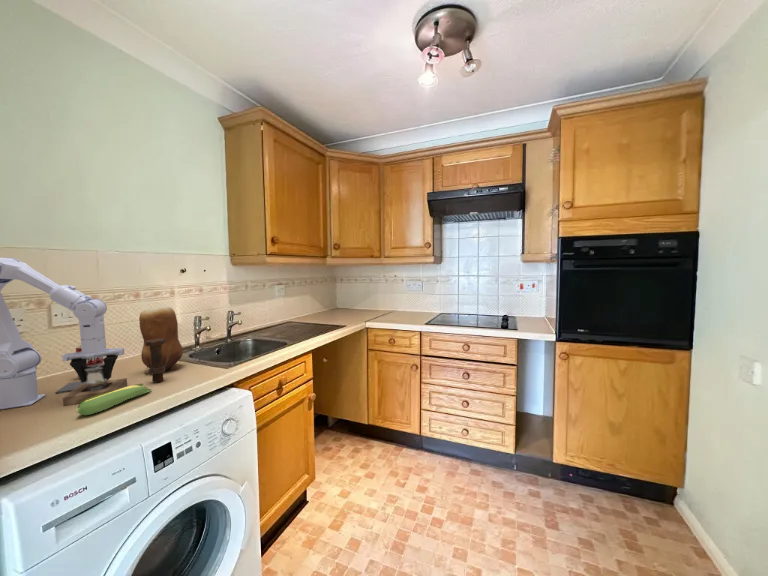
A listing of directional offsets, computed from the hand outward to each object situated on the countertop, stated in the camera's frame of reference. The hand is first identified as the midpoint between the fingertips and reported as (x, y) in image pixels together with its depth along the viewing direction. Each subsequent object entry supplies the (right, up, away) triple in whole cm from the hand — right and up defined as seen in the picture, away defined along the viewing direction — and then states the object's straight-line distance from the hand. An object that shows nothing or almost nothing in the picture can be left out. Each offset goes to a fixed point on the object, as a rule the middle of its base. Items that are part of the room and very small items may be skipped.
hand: (96, 379), depth 100 cm
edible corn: (+12, -6, -6) cm, 15 cm away
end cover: (0, -3, 0) cm, 3 cm away
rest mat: (-12, -5, +8) cm, 15 cm away
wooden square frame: (0, -5, 0) cm, 5 cm away
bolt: (+12, -4, +11) cm, 17 cm away
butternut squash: (+4, -3, +24) cm, 25 cm away
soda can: (-18, -4, +17) cm, 25 cm away
